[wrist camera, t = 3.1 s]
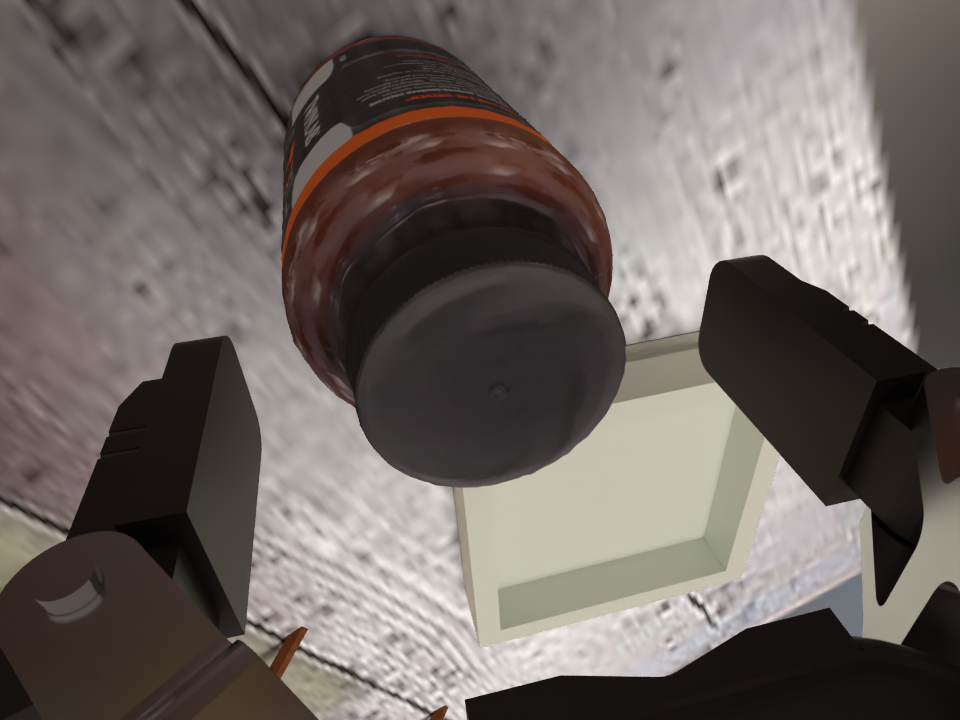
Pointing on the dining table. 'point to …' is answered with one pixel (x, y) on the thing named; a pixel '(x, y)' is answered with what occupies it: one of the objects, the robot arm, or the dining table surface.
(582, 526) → the tray
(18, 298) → the dining table surface
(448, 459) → the supplement bottle
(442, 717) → the glasses
